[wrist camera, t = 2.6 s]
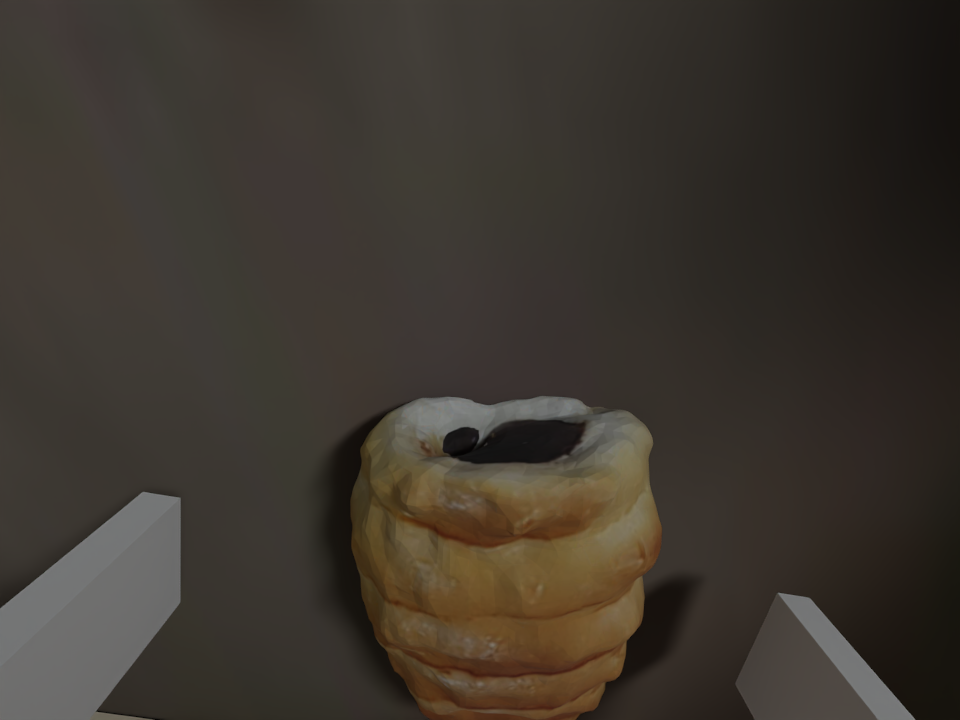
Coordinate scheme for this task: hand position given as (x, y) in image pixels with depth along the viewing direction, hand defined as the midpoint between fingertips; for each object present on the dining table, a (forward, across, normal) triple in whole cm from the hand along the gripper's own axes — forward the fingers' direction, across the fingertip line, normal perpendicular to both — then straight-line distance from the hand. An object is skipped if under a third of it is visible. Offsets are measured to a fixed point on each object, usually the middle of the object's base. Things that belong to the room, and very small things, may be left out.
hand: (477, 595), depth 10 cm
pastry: (+2, +1, 0) cm, 2 cm away
